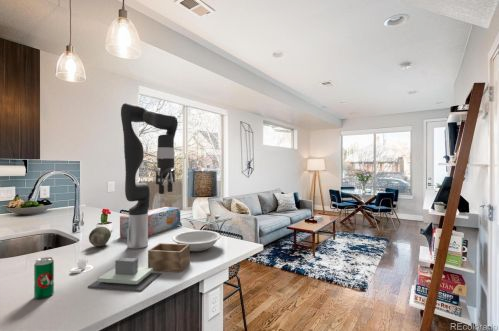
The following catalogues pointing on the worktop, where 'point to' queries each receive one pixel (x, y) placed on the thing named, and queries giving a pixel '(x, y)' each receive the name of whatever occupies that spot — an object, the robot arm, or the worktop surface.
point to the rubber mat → (127, 287)
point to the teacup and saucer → (81, 266)
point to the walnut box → (169, 257)
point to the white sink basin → (197, 239)
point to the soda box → (155, 220)
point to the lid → (125, 272)
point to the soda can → (43, 278)
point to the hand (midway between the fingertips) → (165, 192)
